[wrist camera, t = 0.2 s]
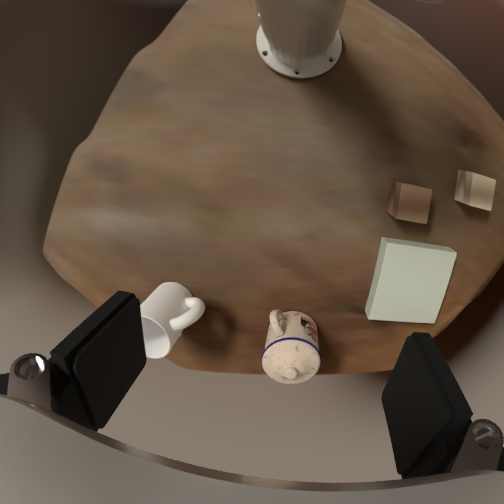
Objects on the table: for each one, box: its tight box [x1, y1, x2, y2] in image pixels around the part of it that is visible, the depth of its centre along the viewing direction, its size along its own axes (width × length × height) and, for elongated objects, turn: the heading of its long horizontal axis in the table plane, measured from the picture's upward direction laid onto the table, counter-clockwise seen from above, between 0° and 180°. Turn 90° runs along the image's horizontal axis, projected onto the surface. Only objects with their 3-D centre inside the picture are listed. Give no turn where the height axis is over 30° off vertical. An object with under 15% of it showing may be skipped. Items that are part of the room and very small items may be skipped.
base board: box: [365, 237, 457, 323], centre depth 43 cm, size 13×13×3 cm
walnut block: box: [386, 180, 432, 224], centre depth 38 cm, size 5×5×5 cm
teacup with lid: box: [262, 309, 321, 384], centre depth 45 cm, size 12×9×12 cm
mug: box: [140, 282, 205, 358], centre depth 46 cm, size 8×12×12 cm
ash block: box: [454, 170, 496, 211], centre depth 36 cm, size 5×5×5 cm
